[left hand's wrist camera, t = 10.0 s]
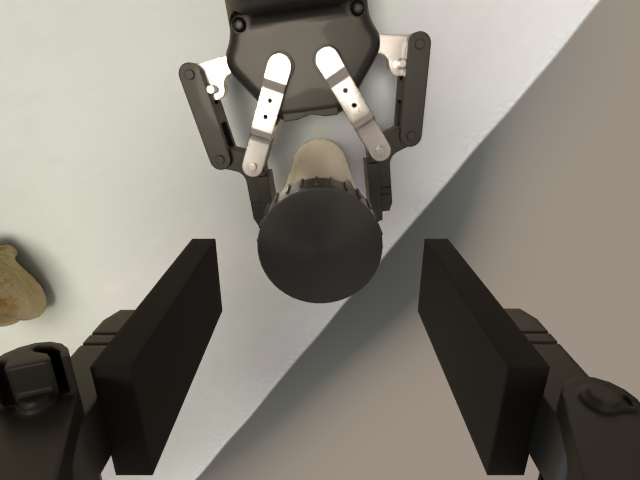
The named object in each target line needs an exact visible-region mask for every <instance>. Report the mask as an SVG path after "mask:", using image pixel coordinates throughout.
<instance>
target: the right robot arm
mask: <svg viewBox="0 0 640 480" xmlns="http://www.w3.org/2000/svg"><path fill="white" fill-rule="evenodd" d="M225 3H226V9H227V14H228V20H229V25H230V41H229V45H228V49H227V52H226V56H223V57H220V58H217V59H213V60H210V61H207V62H204V63H200V64H197V63H185V64H183V65H182V66H181V67H180V69H179V77H180V80H181V83H182V86H183V88H184V91H185V94H186V97H187V99H188V102H189V105H190V108H191V110H192V113H193V116H194V118H195V121H196V124H197V127H198V129H199V132H200V135H201V138H202V140H203V143H204V146H205V149H206V151H207V154H208V157H209V160H210V162H211V164H212V166H213V167H215V168H216V169H219V170H223V169H229V170H233V171H237V172H240V173H241V174H242V175H243V176H244V177H245V178H246V181H247V185H248V191H249V196H250V201H251V206H252V211H253V217H254V219H255V221H256V223H257V224H258V226H259V225H260V223H261V220H262V218H263V216H265V215H264V213H265V211H266V208H267V206H268V204H271V203H272V201H273V200H274V198H275V196H276V191H275V185H274V179H273V173H272V169H268V166H267V161H268V158H269V154H270V151H271V148H272V144H273V141H274V137H275V135H276V132H277V129H278V125H279V122H280V119H281V120H284V121H291V120H298V119H300V118H302V117H305V116H307V115H309V114H314V115H321V116H329V115H337V114H338V113H339V112H341V111H344V112H345V114H346V116H347V117H348V119H349V121H350V122H351V124H352V125H353V127H354V129H355V130H356V132H357V134H358V135H359V137H360V139H361V140H362V142H363V144H364V145H365V147H366V156H367V158H363V161H364V172H365V184H366V195H367V198H368V200H369V202H370V204H371V207H372V210H375V212H376V215H377V217H378V219H379V221H381V220H382V211H388V210H390V207H391V204H392V194H391V178H390V160H391V157H392V156H393V155H394V154H395V153H396V152H398V151H400V150H402V149H404V148H406V147H408V146H409V147H411V146H415V145H416V144H418V143H419V141H420V140H421V136H422V126H423V116H424V106H425V96H426V86H427V76H428V67H429V57H430V47H431V40H430V37H429V36H428V34H427V33H425V32H422V31H419V32H415V33H412V34H410V35H379V33H378V31H377V29H376V28H375V26H374V24H373V23H372V21H371V18H370V15H369V11H368V2H367V0H225ZM377 54H380V55H382V56H383V57H384V58H385V59H386V62H387V69H388V71H389V72H390V73H391V74H392V75H394V76H398V79H397V92H396V105H395V118H394V126H393V127H391V128H389V129H387V130H385V131H383V132H382V131H381V129H380V128H379V126H378V124H377V122H376V121H375V119H374V116H373V114H372V113H371V111H370V109H369V107H368V106H367V104H366V102H365V100H364V99H363V97H362V95H361V93H360V92H359V90H358V89H359V87H360V85H361V83H362V82H363V80H364V78H365V76H366V74H367V73H368V71H369V69H370V67H371V65H372V63H373V62H374V60H375V58H376V56H377ZM231 74H233V75H234V76H235V77H236V79H237V80H238V81H239V82H240V83H241V84H242V85H243V86H244V87H245V88H246V89H247V90H248V91H249V92H250V93H251V94H252V96H253V97H254V98H255V99H256V100H257V101H258V104H257V108H256V111H255V115H254V119H253V122H252V126H251V130H250V138H249V141H248V145H247V149H246V148H242V147H237V146H236V144H235V141H234V138H233V135H232V132H231V129H230V126H229V123H228V120H227V118H226V115H225V112H224V109H223V106H222V103H221V100H220V99H223V98H224V97H225V96H226V94H227V90H228V89H227V79H228V77H229V76H230V75H231Z"/></svg>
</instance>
